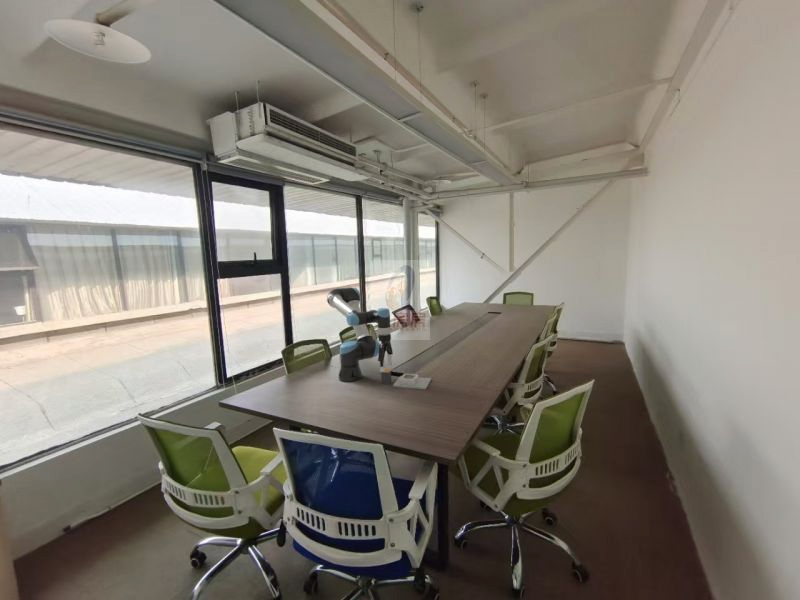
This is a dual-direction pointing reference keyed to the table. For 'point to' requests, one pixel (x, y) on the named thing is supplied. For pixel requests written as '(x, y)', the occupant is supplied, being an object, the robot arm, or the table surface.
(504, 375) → the table surface
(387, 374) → the plug
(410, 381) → the socket plate
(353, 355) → the robot arm
